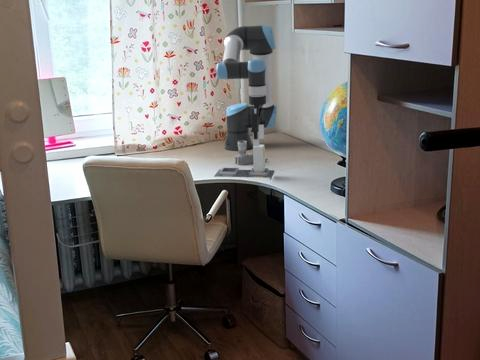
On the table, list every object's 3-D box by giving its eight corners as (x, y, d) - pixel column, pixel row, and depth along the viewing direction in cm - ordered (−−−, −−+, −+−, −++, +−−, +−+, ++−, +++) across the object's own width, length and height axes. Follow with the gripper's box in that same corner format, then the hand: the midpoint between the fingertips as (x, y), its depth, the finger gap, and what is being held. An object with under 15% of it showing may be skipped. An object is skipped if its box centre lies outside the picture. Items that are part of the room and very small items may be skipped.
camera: (231, 140, 309) (258, 137, 315) (232, 164, 312) (259, 160, 319) (240, 144, 301) (267, 140, 308) (241, 168, 304) (268, 163, 311)
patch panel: (219, 171, 300) (219, 166, 299) (274, 172, 295) (274, 167, 294) (213, 178, 289) (213, 173, 288) (270, 179, 284) (270, 174, 283)
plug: (255, 172, 293) (254, 144, 289) (265, 172, 292) (265, 144, 288) (253, 174, 289) (253, 146, 285) (264, 175, 288) (263, 146, 284)
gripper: (253, 90, 293) (254, 135, 299) (243, 100, 269) (245, 149, 276) (269, 90, 291) (270, 135, 298) (261, 100, 268) (262, 149, 274)
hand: (258, 142), depth 287 cm, fingers open, 13 cm apart
